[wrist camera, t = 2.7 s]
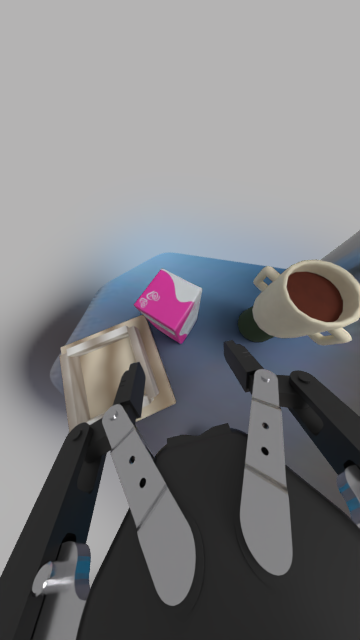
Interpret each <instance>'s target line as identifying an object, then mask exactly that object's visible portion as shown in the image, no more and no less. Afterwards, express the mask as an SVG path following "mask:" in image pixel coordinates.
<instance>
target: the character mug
mask: <svg viewBox="0 0 360 640" xmlns="http://www.w3.org/2000/svg"><path fill="white" fill-rule="evenodd" d="M266 277H268V278H269V279H270V280H271V281H273V282H272V283H271V284H270V285H269V286H268V285H267V284H266V283H265V282H264V281H263V280H264V279H265V278H266ZM253 283H254V285H255V286H256V287H257V288H258V289H259V290H260V291H262V292H261V293H260V294H259V296H258V297H257V298H256V299H255V302H254V306H253V307H250V308H248V309H247V310H245V311H243V313H242V314H241V315H240V316H239V320H238V327H239V331H240V333H241V334H242V335H243V336H244V337H245V338H246V339H248V340H251V341H253V342H264V341H266V340H268V339H270V338H273V337H278V338H296V337H301V336H305V335H308V336H309V337H310V338H311V339H312V340H313V341H314V342H315V343H317V344H319V345H331V344H340V343H346V342H349V341H351V340H352V339H351V336H350V334H349V333H348V332H347V331H346V330H344V329H343V328H342V327H345V326H347V325H349V324H351V323H353V322H355V321H357V320H358V319H359V317H360V284H359V283H358V281H357V280H356V279H355V278H354V277H353V275H351V274H350V273H349V272H348V271H347V270H345V269H344V268H342V267H340V266H338V265H336V264H333V263H331V262H327V261H322V260H304V261H301V262H298V263H296V264H294V265H291V266H290V267H289V268H287V269H286V270H285V271H284V272H283V273H282V274H279V273H278V272H277V271H276V270H275V269H274V268H272V267H270V266H266V267H264V268H263V269H262V270H261V272H260V273H259V274H258V275H257V276H256V278H255V279H254V282H253ZM324 331H328V332H329V333H331V334H332V335H329V336H323V335H321V334H320V332H324Z"/></svg>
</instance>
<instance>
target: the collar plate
mask: <svg viewBox="0 0 360 640" xmlns="http://www.w3.org/2000/svg"><path fill="white" fill-rule="evenodd" d="M61 354H62V355H60V364H61V371H62V379H63V387H64V394H65V402H66V410H67V417H68V425H69V433H70V431H71V430H72V429H73V428H74V427H75V426H77V425H78V424H80V423H83V422H86V423H88V424H89V425H90V424H92V423H94V422H96V421H97V420H99V419H101V418H103V416H104V414H105V412H106V411H107V410H108V409H109V408H110V407H112V405H113V402H114V399H115V396H116V393H117V390H118V387H119V384H120V380H121V377H122V375H123V374H124V372H125V371H127V370H129V367H130V364H132V363H136V362H140V364H141V366H142V368H143V370H144V372H145V376H146V381H145V389H144V397H143V405H142V413H141V418H138V419H136V421H139V420H141V419H143V418H145V417H147V416H149V415H152V414H154V413H156V412H158V411H160V410H162V409H165V408H167V407H169V406H171V405H173V404H175V403H176V400H175V397H174V394H173V391H172V388H171V386H170V383H169V380H168V377H167V374H166V372H165V369H164V366H163V363H162V360H161V358H160V355H159V352H158V349H157V347H156V344H155V341H154V338H153V335H152V333H151V330H150V327H149V324H148V321H147V319H146V317H145V316H144V315H141V316H138V317H136V318H133V319H131V320H128V321H126V322H123V323H121V324H118V325H116V326H113V327H111V328H108V329H106V330H103V331H101V332H98V333H96V334H93V335H91V336H88V337H86V338H83V339H81V340H78V341H76V342H73V343H71V344H68V345H66V346H63V347H61Z"/></svg>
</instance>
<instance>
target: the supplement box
mask: <svg viewBox="0 0 360 640" xmlns="http://www.w3.org/2000/svg"><path fill="white" fill-rule="evenodd" d="M201 294H202V288H200V287H198V286H196V285H194V284H192V283H190V282H188V281H186V280H184V279H182V278H180V277H178V276H176V275H174V274H172V273H170V272H168V271H166V270H164V269H161V270H160V271H159V273H158V274H157V275H156V276H155V278H154V279H153V280H152V282H151V283H150V284H149V286H148V287H147V288H146V290H145V291H144V292H143V293H142V295H141V296H140V297H139V299H138V300H137V301H136V303H135V304H134V306H135V307H136V308H137V309H138V310H139V311H140V312H141V313H142V314H143V315H144V316H145V317H146V318H147V319H148V320H149V321H150V322H151V323H152V324H153V325H154V326H155V327H156V328H157V329H158V330H159V331H161V332H163V333H164V334H166V335H167V336H169V337H170V338H172V339H173V340H175V341H177V342H178V343H180V344H182V343H183V342H184V340H185V339H186V337H187V336H188V334H189V332H190V331H191V329H192V328H193V326H194V324H195V323H196V321H197V316H198V311H199V305H200V299H201Z"/></svg>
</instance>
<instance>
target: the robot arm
mask: <svg viewBox="0 0 360 640" xmlns="http://www.w3.org/2000/svg"><path fill="white" fill-rule="evenodd" d="M321 260H322V261H327V262H331V263H333V264H336V265H338V266H340V267H342V268H344V269H345V270H347V271H348V272H349V273H350V274H351V275H353V277H354V278H355V279H356V280H357V281H358V283H359V284H360V231H358V232H357V233H356V234H354V235H353V236H352V237H350V238H349V239H348V240H346V241H345V242H344V243H342V244H341V245H340V246H338V247H337V248H336V249H334V250H333V251H332V252H330V253H329V254H328V255H326V256H325V257H324V258H322V259H321ZM224 356H225V359H226V361H227V363H228V364H229V366H230V368H231V369H232V371H233V373H234V374H235V376H236V378H237V379H238V381H239V383H240V384H241V386H242V388H243V389H244V391H245V392H249V391H250V392H251V394H252V402H251V411H250V420H249V430H248V434H246V433H244V432H242V431H240V430H237V429H234V428H230V427H229V425H228V423H227V424H223V425H219V426H215V427H212V428H211V429H209V430H207V431H206V432H204V433H203V434H201V435H199V436H192V435H179V436H175V437H171V438H167V445H165V446H164V447H163V448H162V449H161V450H160V451H159V452H158V453H157V454H156V456H154V455H153V453H152V452H151V450H150V449H149V447H148V445H147V444H146V442H145V440H144V439H143V437H142V435H141V434H140V432H139V430H138V429H137V427H136V425H135V423H136V419H138V418H141V413H142V405H143V397H144V389H145V381H146V376H145V372H144V370H143V368H142V366H141V364H140V362H136V363H132V364H130V367H129V370H127V371H125V372H124V374H123V375H122V377H121V380H120V384H119V387H118V390H117V393H116V396H115V399H114V402H113V405H112V407H110V408H109V409H108V410H107V411H106V412H105V414H104V416H103V418H101V419H99V420H97V421H96V422H94V423H92V424H90V425H89V424H88V423H86V422H83V423H80V424H78V425H77V426H75V427H74V428H73V429H72V430H71V431H70V433H69V434H68V436H67V437H66V439H65V441H64V443H63V445H62V448H61V450H60V452H59V454H58V456H57V458H56V460H55V462H54V464H53V467H52V469H51V471H50V473H49V475H48V477H47V479H46V482H45V484H44V486H43V488H42V490H41V492H40V495H39V497H38V498H37V501H36V503H35V505H34V507H33V509H32V511H31V513H30V515H29V518H28V520H27V522H26V524H25V526H24V528H23V531H22V532H21V535H20V537H19V539H18V541H17V543H16V545H15V548H14V549H13V552H12V554H11V556H10V558H9V560H8V562H7V564H6V567H5V569H4V571H3V573H2V575H1V577H0V640H360V417H359V416H358V415H357V414H356V413H355V412H354V411H352V410H351V409H350V408H349V407H348V406H347V405H346V404H344V403H343V402H342V401H341V400H340V399H339V398H338V397H336V396H335V395H334V394H333V393H332V392H331V391H330V390H328V389H327V388H326V387H325V386H324V385H323V384H322V383H320V382H319V381H318V380H317V379H316V378H315V377H313V376H312V375H311V374H309V373H306V372H304V371H293V372H291V374H290V376H285V375H275V374H274V373H272V372H271V371H269V370H265V369H264V368H263V367H262V366H261V365H260V364H259V363H258V362H257V360H256V359H255V358H254V357H253V356H252V355H251V354H250V353H249V352H248V350H247V349H246V348H245V347H244V346H242V345H240V344H237V345H236V344H235V343H234V341H233V340H229V341H225V342H224ZM279 406H280V407H287V408H288V409H289V410H290V412H291V413H292V414H293V416H294V417H295V418H296V420H297V421H298V422H299V424H300V425H301V426H302V428H303V429H304V430H305V432H306V433H307V434H308V436H309V437H310V438H311V440H312V441H313V442H314V444H315V445H316V446H317V448H318V449H319V450H320V452H321V453H322V454H323V456H324V457H325V458H326V460H327V461H328V462H329V464H330V465H331V466H332V468H333V469H334V470H335V472H336V473H337V474H338V477H337V486H338V489H339V491H340V493H341V495H342V496H343V498H344V500H345V501H346V503H347V505H348V508H349V510H350V514H351V519H350V518H349V517H348V516H347V515H346V514H345V513H344V512H343V511H342V510H341V509H339V508H338V507H337V506H336V505H334V504H333V503H332V502H331V501H330V500H328V499H327V498H326V497H325V496H323V495H322V494H321V493H320V492H318V491H317V490H316V489H315V488H313V487H312V486H311V485H310V484H309V483H307V482H306V481H305V480H304V479H302V478H301V477H300V476H299V475H297V474H296V473H295V472H294V471H293V470H291V469H290V468H289V467H288V466H286V465H285V457H284V441H283V425H282V411H281V408H280V407H279ZM111 449H112V450H111ZM110 450H111V456H112V459H113V462H114V465H115V468H116V470H117V473H118V476H119V479H120V482H121V484H122V487H123V490H124V493H125V495H126V498H127V501H128V504H129V510H128V512H127V514H126V516H125V518H124V520H123V522H122V524H121V526H120V528H119V530H118V532H117V534H116V536H115V538H114V540H113V542H112V544H111V546H110V549H109V551H108V553H107V555H106V557H105V559H104V561H103V563H102V565H101V567H100V569H99V571H98V573H97V575H96V577H95V579H94V582H93V584H92V586H91V589H90V586H89V572H90V559H91V555H90V549H89V546H88V545H87V544H86V541H87V536H88V532H89V527H90V523H91V519H92V515H93V510H94V505H95V501H96V497H97V493H98V488H99V484H100V480H101V475H102V471H103V467H104V462H105V458H106V454H107V452H108V451H110Z"/></svg>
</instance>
